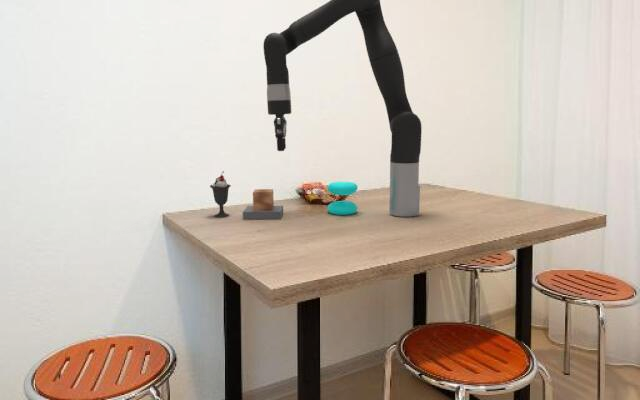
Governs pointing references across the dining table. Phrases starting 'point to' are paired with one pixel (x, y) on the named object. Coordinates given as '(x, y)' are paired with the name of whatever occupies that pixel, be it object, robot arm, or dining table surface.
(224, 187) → the sundae
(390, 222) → the dining table surface
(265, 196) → the cube
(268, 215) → the base
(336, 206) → the donuts
